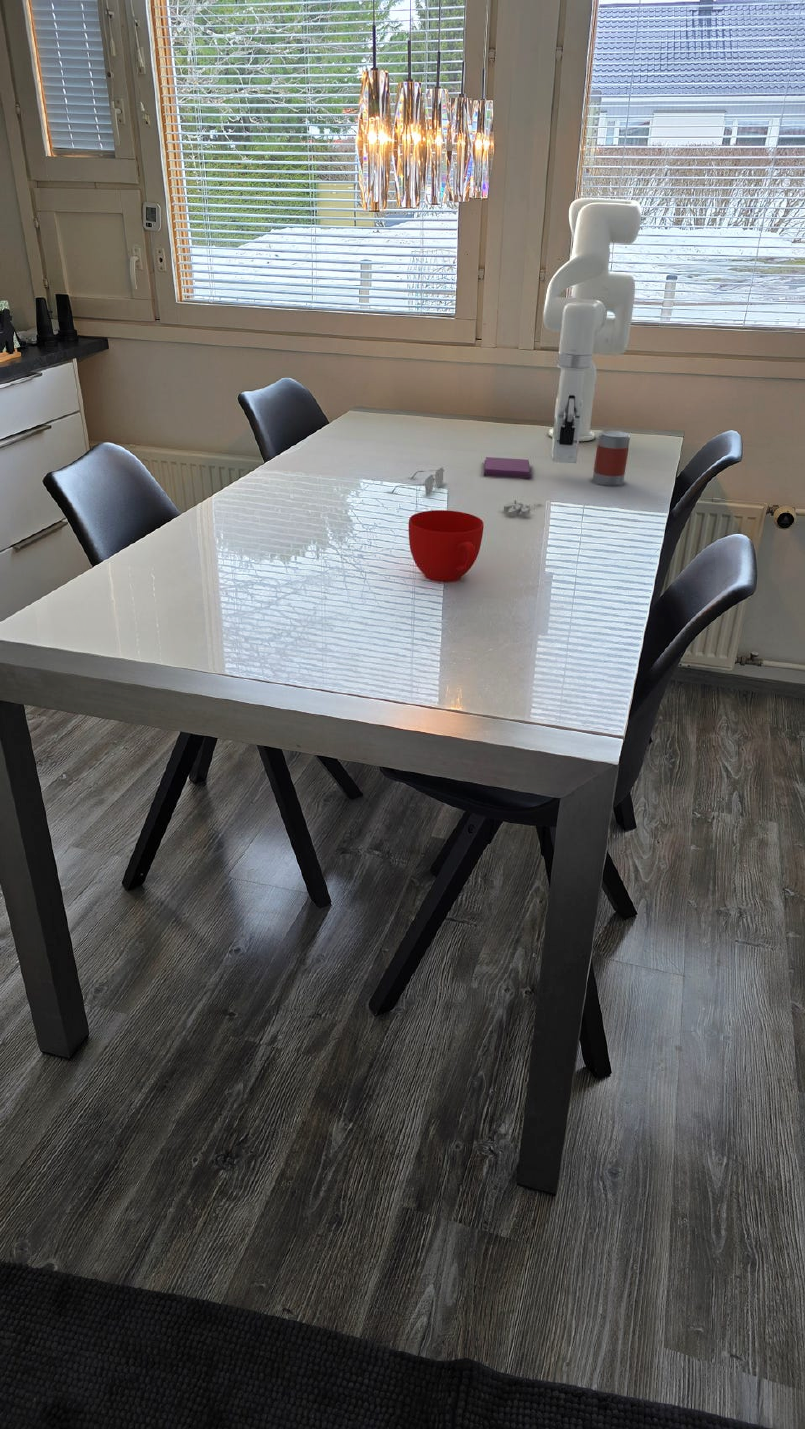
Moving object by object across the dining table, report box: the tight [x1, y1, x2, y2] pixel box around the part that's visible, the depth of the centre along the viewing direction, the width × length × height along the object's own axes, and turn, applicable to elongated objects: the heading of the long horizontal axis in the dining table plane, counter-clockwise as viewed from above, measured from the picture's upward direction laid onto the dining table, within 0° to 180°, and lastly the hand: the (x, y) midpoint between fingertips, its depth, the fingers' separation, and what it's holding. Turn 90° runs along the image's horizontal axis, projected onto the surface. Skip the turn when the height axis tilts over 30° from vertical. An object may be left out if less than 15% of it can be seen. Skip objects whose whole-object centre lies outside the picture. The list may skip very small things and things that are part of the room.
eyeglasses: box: [391, 467, 445, 496], centre depth 226 cm, size 14×8×4 cm, turn 160°
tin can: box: [592, 430, 631, 487], centre depth 235 cm, size 7×7×11 cm
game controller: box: [503, 499, 541, 518], centre depth 213 cm, size 6×12×3 cm, turn 158°
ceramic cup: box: [408, 509, 485, 583], centre depth 173 cm, size 13×17×10 cm
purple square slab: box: [483, 456, 531, 480], centre depth 242 cm, size 12×11×2 cm
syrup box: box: [550, 394, 583, 464], centre depth 235 cm, size 6×6×14 cm
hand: (565, 440), depth 236 cm, fingers closed on syrup box, 6 cm apart
